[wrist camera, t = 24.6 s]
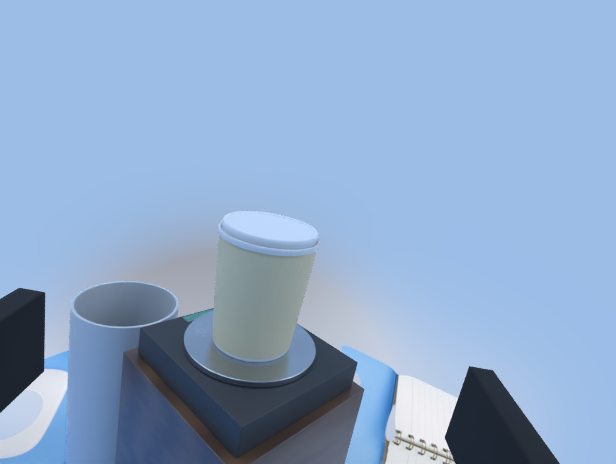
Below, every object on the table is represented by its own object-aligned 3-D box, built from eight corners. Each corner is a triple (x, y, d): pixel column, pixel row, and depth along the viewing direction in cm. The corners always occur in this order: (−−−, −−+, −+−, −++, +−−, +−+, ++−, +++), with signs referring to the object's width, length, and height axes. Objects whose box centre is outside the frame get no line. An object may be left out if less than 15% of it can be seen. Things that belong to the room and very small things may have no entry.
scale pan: (340, 357, 41) (341, 352, 41) (240, 409, 32) (241, 402, 32) (257, 303, 49) (258, 298, 49) (157, 331, 40) (157, 325, 40)
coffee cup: (315, 342, 42) (339, 232, 39) (258, 382, 34) (282, 249, 31) (246, 307, 46) (263, 206, 43) (182, 336, 39) (197, 215, 35)
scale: (351, 387, 42) (357, 362, 41) (236, 459, 31) (242, 426, 30) (252, 318, 52) (255, 296, 51) (137, 353, 41) (140, 326, 40)
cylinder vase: (178, 444, 63) (197, 298, 56) (119, 514, 51) (134, 340, 44) (112, 415, 66) (122, 273, 59) (42, 474, 54) (44, 306, 47)
